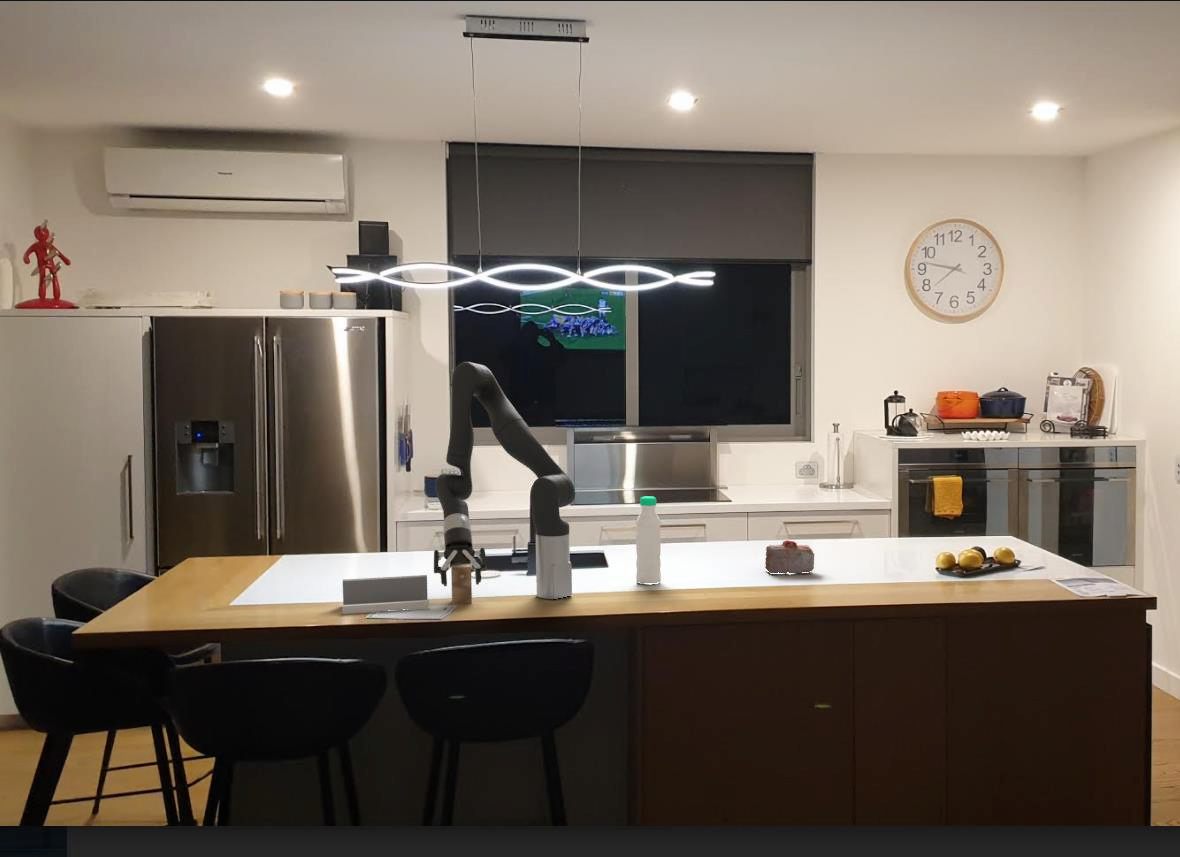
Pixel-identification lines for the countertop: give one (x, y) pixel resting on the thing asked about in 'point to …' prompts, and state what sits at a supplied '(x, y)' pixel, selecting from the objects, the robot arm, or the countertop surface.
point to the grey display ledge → (384, 594)
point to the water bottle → (648, 542)
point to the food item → (789, 558)
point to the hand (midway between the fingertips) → (461, 583)
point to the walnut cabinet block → (461, 584)
